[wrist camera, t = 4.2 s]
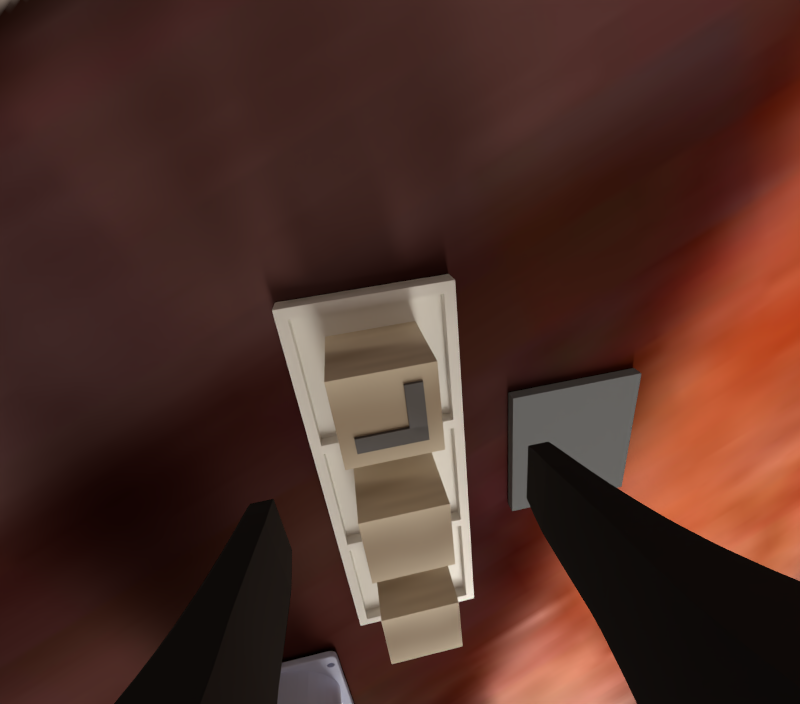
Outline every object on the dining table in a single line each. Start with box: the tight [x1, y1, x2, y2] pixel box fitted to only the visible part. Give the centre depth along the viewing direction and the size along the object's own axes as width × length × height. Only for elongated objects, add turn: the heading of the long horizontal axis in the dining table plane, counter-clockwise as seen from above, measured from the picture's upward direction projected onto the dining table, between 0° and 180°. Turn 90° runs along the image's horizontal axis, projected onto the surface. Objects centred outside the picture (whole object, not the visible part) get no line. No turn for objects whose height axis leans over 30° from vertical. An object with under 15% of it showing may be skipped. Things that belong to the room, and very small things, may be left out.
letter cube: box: [324, 321, 445, 470], centre depth 16 cm, size 4×4×4 cm
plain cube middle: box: [354, 452, 455, 584], centre depth 20 cm, size 4×4×4 cm
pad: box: [508, 368, 641, 511], centre depth 22 cm, size 8×7×1 cm
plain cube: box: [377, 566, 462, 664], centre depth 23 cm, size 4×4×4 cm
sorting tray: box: [272, 274, 474, 626], centre depth 21 cm, size 22×8×1 cm, turn 7°
